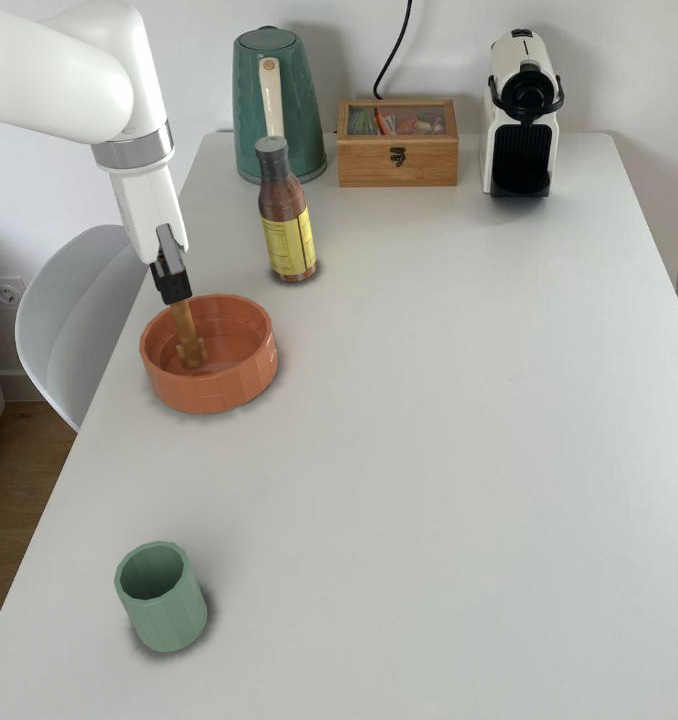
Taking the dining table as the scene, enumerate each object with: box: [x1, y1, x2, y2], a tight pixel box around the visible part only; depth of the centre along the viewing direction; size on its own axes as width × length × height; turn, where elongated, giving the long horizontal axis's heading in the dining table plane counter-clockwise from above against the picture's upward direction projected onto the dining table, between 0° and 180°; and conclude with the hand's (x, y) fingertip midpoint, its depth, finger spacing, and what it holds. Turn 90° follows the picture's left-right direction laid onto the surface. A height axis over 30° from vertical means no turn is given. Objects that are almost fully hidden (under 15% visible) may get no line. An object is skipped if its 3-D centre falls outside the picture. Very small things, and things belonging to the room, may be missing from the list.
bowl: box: [138, 293, 279, 415], centre depth 96 cm, size 15×15×6 cm
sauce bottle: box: [254, 135, 317, 283], centre depth 106 cm, size 6×6×20 cm
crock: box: [113, 540, 208, 653], centre depth 71 cm, size 6×6×8 cm
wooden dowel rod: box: [160, 257, 208, 368], centre depth 92 cm, size 3×2×16 cm, turn 118°
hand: (174, 292), depth 90 cm, fingers closed on wooden dowel rod, 2 cm apart
